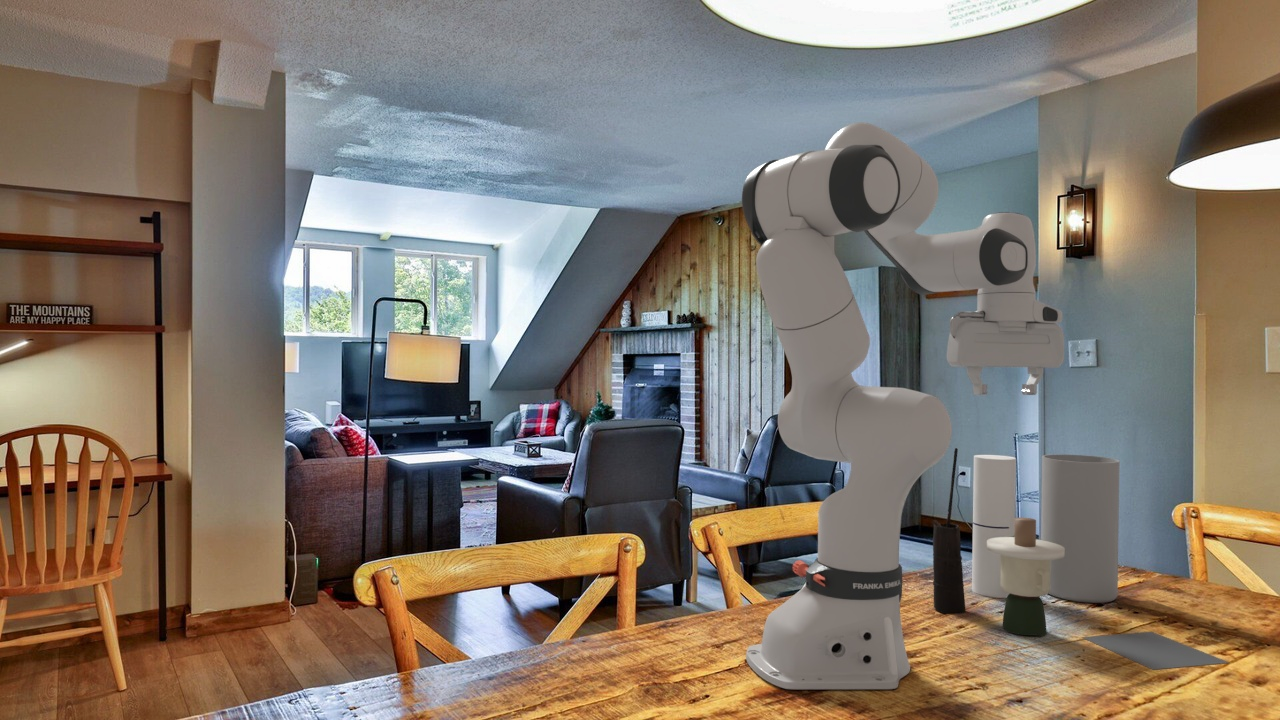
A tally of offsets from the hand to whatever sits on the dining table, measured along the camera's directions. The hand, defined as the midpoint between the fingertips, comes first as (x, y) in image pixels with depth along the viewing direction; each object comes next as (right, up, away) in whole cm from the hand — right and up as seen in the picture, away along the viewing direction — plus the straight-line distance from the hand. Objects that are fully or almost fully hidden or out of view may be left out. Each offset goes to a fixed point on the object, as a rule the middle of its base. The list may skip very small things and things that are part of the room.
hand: (1004, 394), depth 134 cm
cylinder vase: (+20, -38, +14) cm, 45 cm away
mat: (+15, -37, -16) cm, 43 cm away
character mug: (-1, -37, -8) cm, 38 cm away
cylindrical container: (+4, -37, +15) cm, 40 cm away
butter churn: (-9, -37, +4) cm, 38 cm away
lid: (0, -24, -8) cm, 25 cm away
